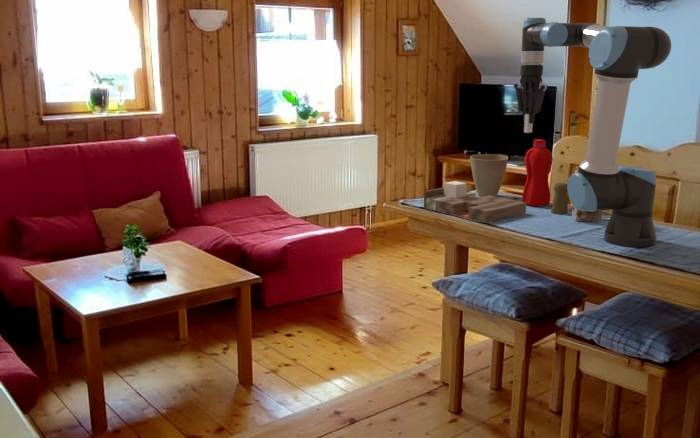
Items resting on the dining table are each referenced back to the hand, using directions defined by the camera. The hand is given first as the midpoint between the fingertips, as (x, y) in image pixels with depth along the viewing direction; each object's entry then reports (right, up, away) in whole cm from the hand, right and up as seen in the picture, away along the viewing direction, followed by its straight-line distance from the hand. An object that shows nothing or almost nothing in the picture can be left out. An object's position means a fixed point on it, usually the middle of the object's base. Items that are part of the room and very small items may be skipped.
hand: (527, 132), depth 251 cm
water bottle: (+9, -25, +22) cm, 35 cm away
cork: (+14, -28, +8) cm, 33 cm away
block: (-23, -22, +17) cm, 36 cm away
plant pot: (-7, -22, +37) cm, 43 cm away
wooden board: (-17, -28, +11) cm, 34 cm away
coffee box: (+20, -31, -2) cm, 37 cm away
